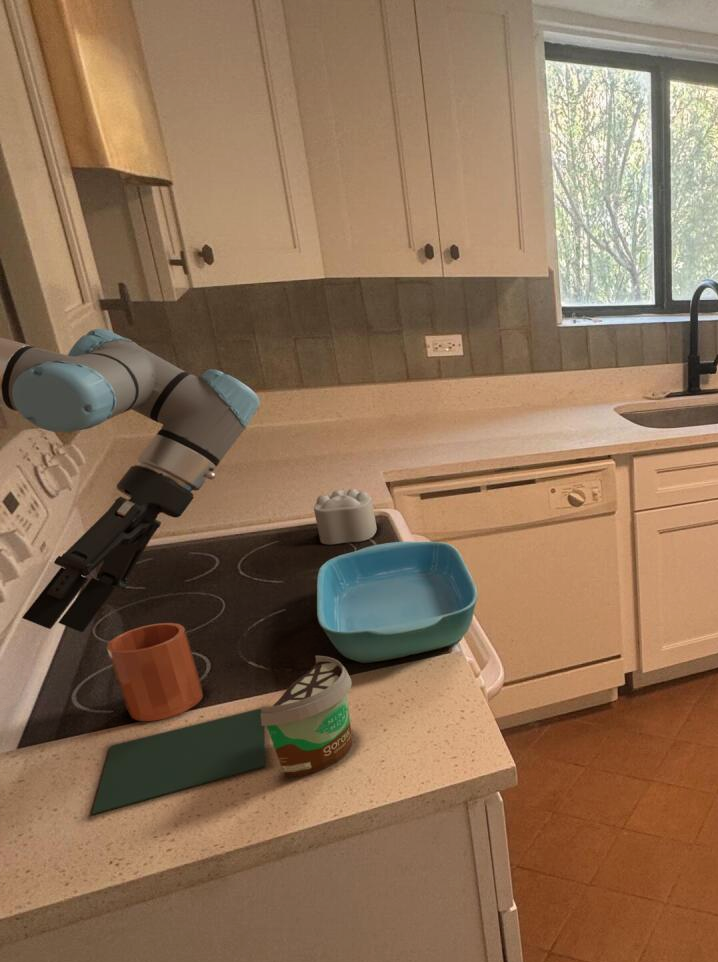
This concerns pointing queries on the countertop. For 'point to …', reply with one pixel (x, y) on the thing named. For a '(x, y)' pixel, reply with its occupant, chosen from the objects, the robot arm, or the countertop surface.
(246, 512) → the countertop surface
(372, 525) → the lumpy-topped squat cylinder
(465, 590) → the casserole dish
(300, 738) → the food container
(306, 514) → the countertop surface
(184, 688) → the cup
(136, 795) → the mat
